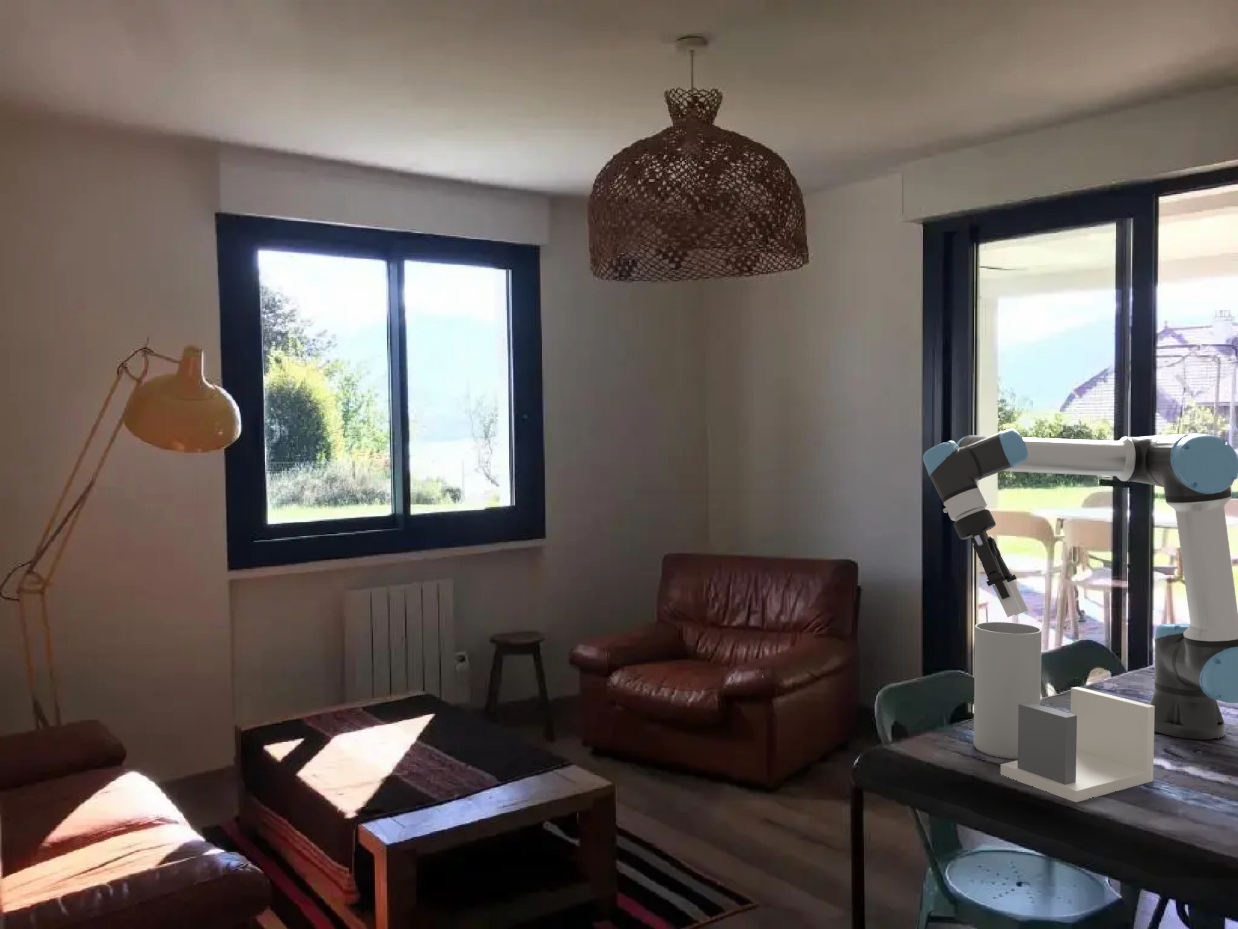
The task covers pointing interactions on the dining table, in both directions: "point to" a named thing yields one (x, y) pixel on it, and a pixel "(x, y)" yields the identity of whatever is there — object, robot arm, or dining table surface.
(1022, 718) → the white corner bracket
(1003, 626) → the cylinder vase
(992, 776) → the dining table surface
